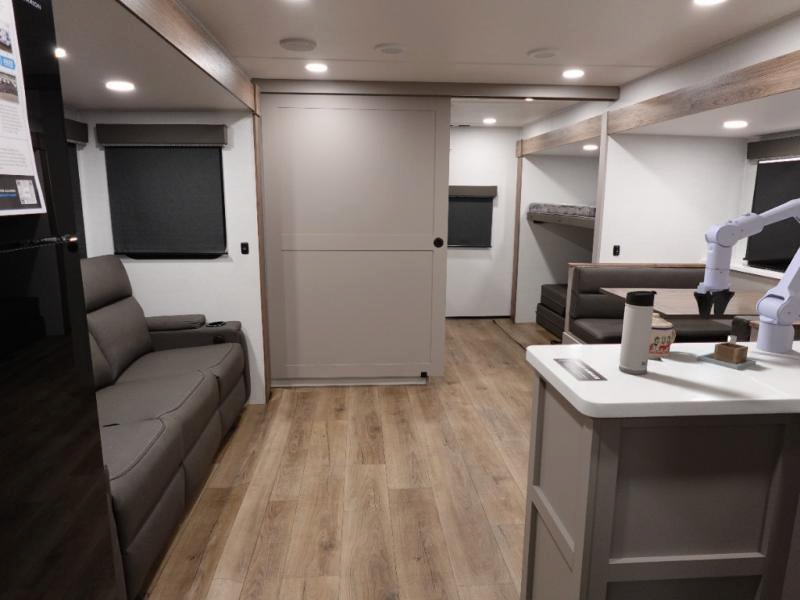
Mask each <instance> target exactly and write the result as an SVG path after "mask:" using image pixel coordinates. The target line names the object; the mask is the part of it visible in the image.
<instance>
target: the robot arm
mask: <svg viewBox="0 0 800 600" xmlns="http://www.w3.org/2000/svg"><path fill="white" fill-rule="evenodd" d="M791 217H793V218H794V219H795V220H796V221H797V222H798V223H799V224H800V197H799V198H796V199H791V200H789V201H787V202H785V203H783V204H781V205H778V206H776V207H774V208H772V209H769V210H766V211H763V212H762V213H760V214H757V213H754V212H744V213H742V214H741V216H740V217H737V218H734V219H728V220H725V221H724V223H723V224H714V225H712V226H710V227H709V228H708V230H707V232H706V233H705V234H704V239H705V241H706V243H707V254H706V262H705V270H704V276H703V277H704V279H703V282H699V285H697V291H694V292H693V297H694V299H695V300H696V303H697V308H698V315H699V319H704V320H709V319H710V315H711V313H712V308H713V315H714V316H716V317H723V316H724V314H725V313H726V312H725V311H726V309H727V307H728V305H729V303H730V301H731V300H732V298H733V297H734V296H735V293H736V292H735V291H732V289H733V288H732V287H733V283H731V282H729V276H730V268H731V261H732V260H731V259H732V255H733V247H734V246H735V245H736V244H737V243H738V241H740V240H743V239H745V238H749V237H751V236H753V235H756V234H759V233H761V232H762V231H763V229H764V226H769V225H771V224H775V223H777V222H780V221H783V220H785V219H789V218H791ZM755 311H756V313H757V314H758V315H759V317H758V318H759V320H760V321H759V324H758V325H759V327H758V333H757V340H756V346H755V347H756V348H755V349H757V350H759V351H761V352H764V353H765V352H766V353H770V354H771V353H773V354H787V353H788V352H790V351H792V350H793V345H794V344H793V343H794V338H795V328H794V326H793V325H794V323H795V322H796V321H797V320H798V319H799V317H800V247H799V248H798V249H797V251H796V253H795V254H794V256H793V258H792V260H791V262H790V264H789V265H788V266H787V268H786V270H785V272H784V273H783V275H782V277H781V279H780V280H779V282H778V284H777V285H776V286H774V287H772V288H770V289H769V290H767V292H766V293H765V294H764V296H763V297H761V298H760V299H759V300H758V301H757V302H756V306H755Z"/></svg>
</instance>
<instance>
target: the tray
mask: <svg viewBox="0 0 800 600" xmlns="http://www.w3.org/2000/svg"><path fill="white" fill-rule="evenodd" d="M713 357H714V351H712V352H710V353H705V354H700V355H698V356H697V361H700V362H704V363H708V364H712V365H715V366H718V367H720V366H721V367H723V368H724V367H725V368H728V369H732V370H736V371H738V370H741V369H745V368H748V367H752V366H755V365H756V364H757V360H755V359H751V358H748V357H747V359H746V362H744V363H741V364H737V365H735V364H731V363H727V362H723V361H718V360H714V359H713Z"/></svg>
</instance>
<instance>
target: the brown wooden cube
mask: <svg viewBox="0 0 800 600" xmlns="http://www.w3.org/2000/svg"><path fill="white" fill-rule="evenodd" d="M748 350H749V346H747V345H742V344H737V343H736V344H733V343H728V342H727V341H726V342H725V341H724V342H719V343H716V344H714V349H713V352H714V357H712V359H714V360H718V361H723V362H727V363H731V364H735V365H737V364H741V363H744V362H746V359H747V358H748Z"/></svg>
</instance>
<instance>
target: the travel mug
mask: <svg viewBox="0 0 800 600" xmlns="http://www.w3.org/2000/svg"><path fill="white" fill-rule="evenodd" d="M656 295H658V293H657V291H656V290H650V291H649V290H637V291H636V290H634V291H628V292H627V293H626V296H625V297H626V298H625V303H624V304H625V306H624V313H623V322H622V323H623V324H622V333H621V335H622V336H621V341H620V342H621V343H620V353H619V365H618V370H619V371H620V372H622V373H625V374H627V375H634V376H642V375H645V374H647V371H648V363H649V359H648V355H649V346H650V337H651V328H652V318H653V313H654V306H655V297H656Z"/></svg>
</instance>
